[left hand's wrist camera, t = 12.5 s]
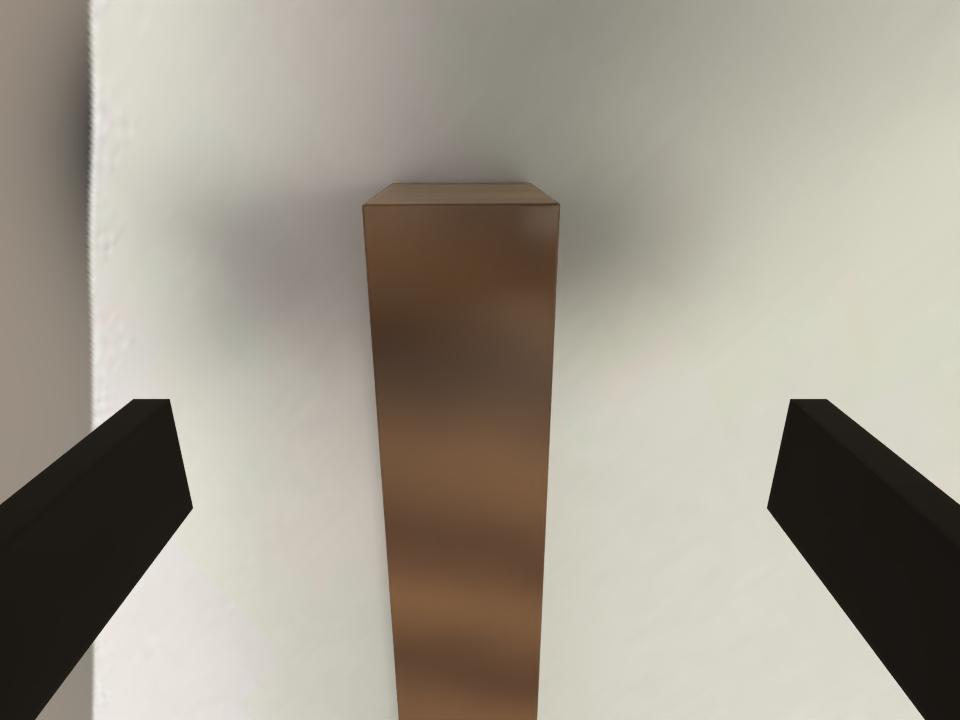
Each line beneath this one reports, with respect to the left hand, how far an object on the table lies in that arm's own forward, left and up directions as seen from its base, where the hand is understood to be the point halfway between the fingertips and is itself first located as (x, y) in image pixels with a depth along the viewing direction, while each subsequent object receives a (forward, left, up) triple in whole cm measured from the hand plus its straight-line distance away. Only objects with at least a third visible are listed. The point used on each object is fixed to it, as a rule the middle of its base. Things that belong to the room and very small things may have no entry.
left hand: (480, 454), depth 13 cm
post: (+32, +7, -14) cm, 35 cm away
